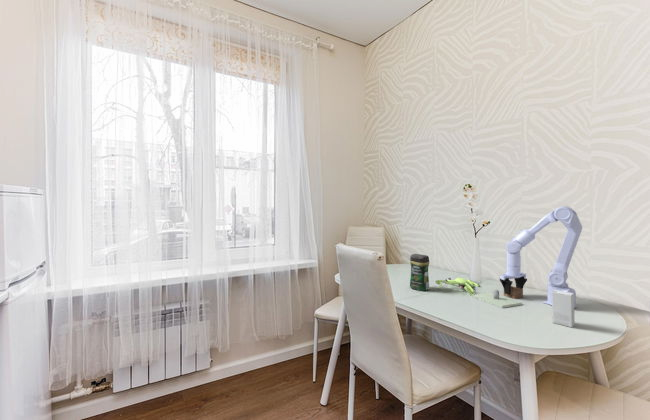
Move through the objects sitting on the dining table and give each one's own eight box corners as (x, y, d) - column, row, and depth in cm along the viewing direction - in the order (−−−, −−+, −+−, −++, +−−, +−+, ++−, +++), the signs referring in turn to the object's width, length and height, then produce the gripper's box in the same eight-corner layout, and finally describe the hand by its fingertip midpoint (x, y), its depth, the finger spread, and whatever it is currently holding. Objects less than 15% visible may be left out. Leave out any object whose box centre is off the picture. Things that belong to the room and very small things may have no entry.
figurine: (432, 292, 152) (432, 281, 152) (446, 280, 173) (446, 271, 173) (471, 298, 141) (471, 287, 141) (481, 285, 162) (481, 275, 162)
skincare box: (574, 324, 109) (575, 292, 109) (572, 328, 106) (572, 295, 106) (554, 319, 114) (554, 289, 114) (551, 322, 111) (551, 291, 111)
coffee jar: (407, 288, 158) (407, 254, 157) (415, 285, 163) (415, 252, 162) (423, 292, 150) (423, 256, 150) (431, 289, 155) (431, 254, 155)
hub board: (522, 304, 131) (522, 293, 131) (501, 308, 127) (501, 296, 127) (491, 294, 146) (491, 284, 146) (472, 296, 142) (472, 286, 142)
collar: (522, 297, 141) (522, 289, 141) (514, 298, 139) (514, 290, 139) (512, 294, 146) (512, 286, 146) (503, 295, 144) (503, 287, 144)
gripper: (516, 262, 148) (516, 289, 149) (494, 264, 144) (494, 292, 144) (530, 265, 141) (530, 293, 142) (507, 267, 137) (507, 296, 137)
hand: (513, 293), depth 142 cm, fingers open, 7 cm apart
